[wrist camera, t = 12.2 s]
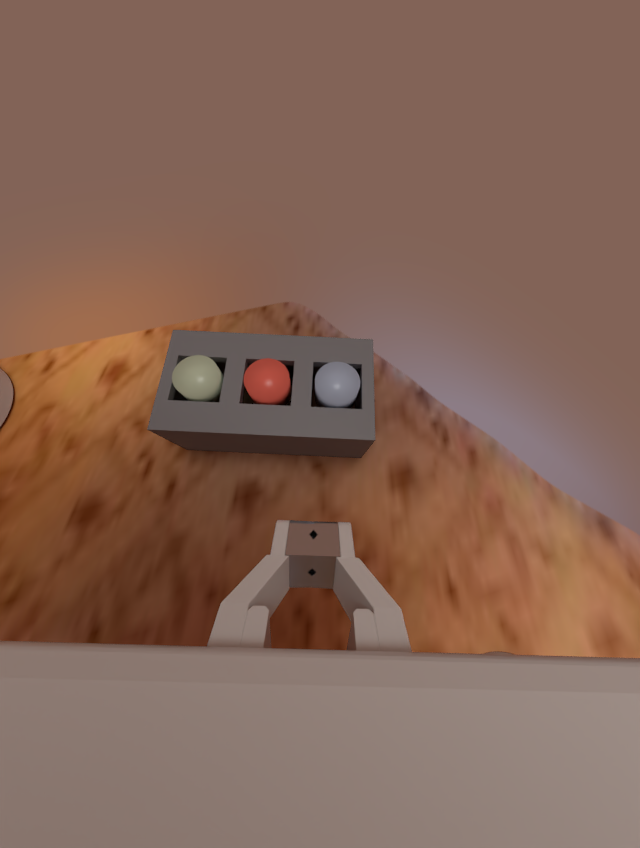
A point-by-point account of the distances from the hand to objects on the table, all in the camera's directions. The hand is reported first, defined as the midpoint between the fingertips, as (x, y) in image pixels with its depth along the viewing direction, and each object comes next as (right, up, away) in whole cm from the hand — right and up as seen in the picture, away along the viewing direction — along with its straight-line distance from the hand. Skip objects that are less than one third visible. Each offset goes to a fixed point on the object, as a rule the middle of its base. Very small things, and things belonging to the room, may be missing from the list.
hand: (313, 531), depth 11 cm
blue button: (+2, +8, +21) cm, 22 cm away
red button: (-5, +8, +21) cm, 23 cm away
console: (-6, +6, +26) cm, 28 cm away
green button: (-13, +9, +21) cm, 26 cm away
